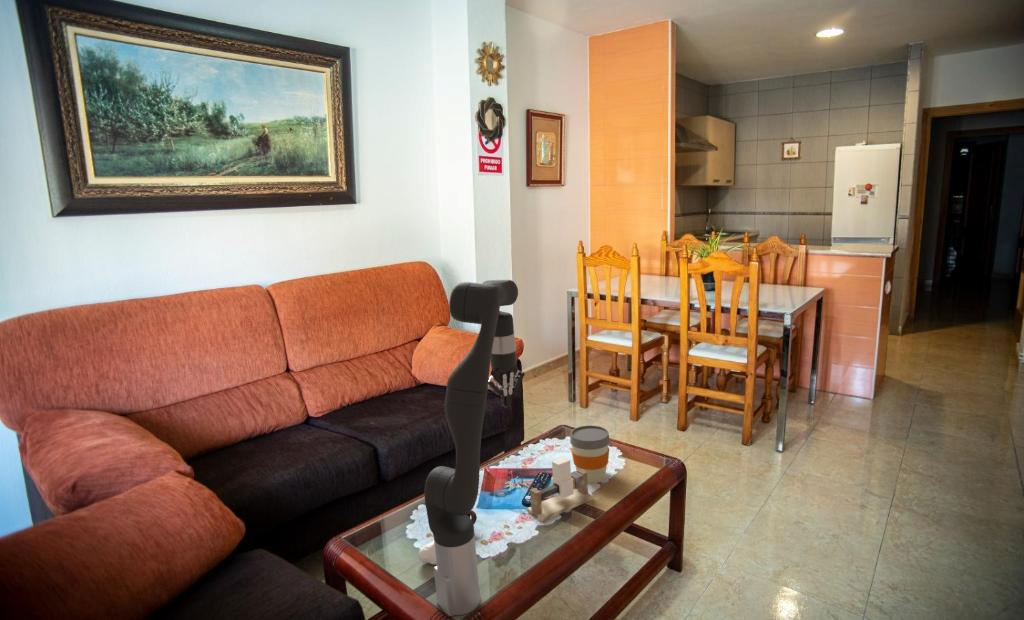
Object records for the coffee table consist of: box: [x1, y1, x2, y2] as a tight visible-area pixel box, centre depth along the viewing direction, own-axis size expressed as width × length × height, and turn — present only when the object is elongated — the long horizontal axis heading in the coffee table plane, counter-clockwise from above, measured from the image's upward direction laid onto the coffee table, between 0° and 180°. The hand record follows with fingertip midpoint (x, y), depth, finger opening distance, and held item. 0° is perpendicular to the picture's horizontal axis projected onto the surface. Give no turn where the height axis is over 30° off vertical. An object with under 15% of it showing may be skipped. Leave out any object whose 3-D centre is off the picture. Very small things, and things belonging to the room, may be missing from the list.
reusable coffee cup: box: [569, 424, 611, 484], centre depth 193 cm, size 13×12×15 cm
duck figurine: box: [417, 531, 437, 566], centre depth 155 cm, size 12×8×11 cm
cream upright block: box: [550, 456, 574, 499], centre depth 178 cm, size 4×5×10 cm
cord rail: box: [526, 469, 594, 523], centre depth 178 cm, size 19×7×8 cm, turn 124°
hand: (506, 406), depth 175 cm, fingers closed
